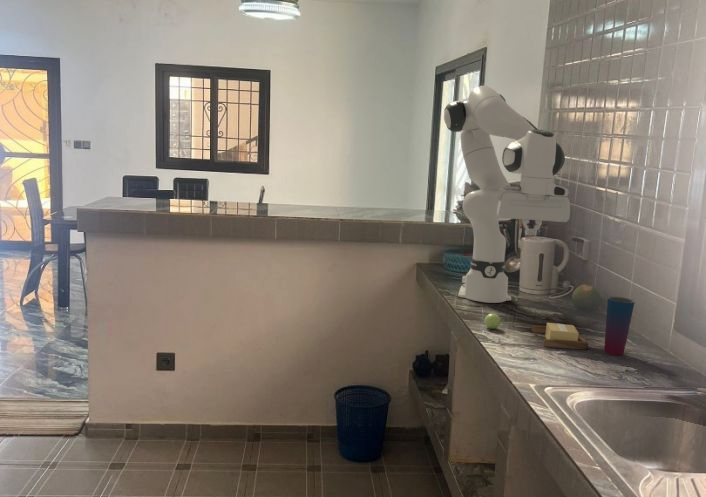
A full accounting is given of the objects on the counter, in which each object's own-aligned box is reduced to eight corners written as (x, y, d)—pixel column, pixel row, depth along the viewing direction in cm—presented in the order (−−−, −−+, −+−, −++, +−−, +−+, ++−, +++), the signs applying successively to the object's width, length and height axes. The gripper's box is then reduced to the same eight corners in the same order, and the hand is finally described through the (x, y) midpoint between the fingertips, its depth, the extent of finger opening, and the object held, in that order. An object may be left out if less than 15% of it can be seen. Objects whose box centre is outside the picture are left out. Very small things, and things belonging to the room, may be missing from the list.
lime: (482, 325, 195) (484, 311, 194) (497, 326, 195) (499, 312, 194) (485, 330, 190) (486, 315, 190) (500, 331, 190) (502, 316, 189)
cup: (629, 357, 173) (637, 303, 170) (603, 354, 174) (610, 301, 172) (624, 350, 180) (631, 297, 177) (598, 347, 181) (605, 295, 178)
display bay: (531, 331, 192) (531, 325, 192) (572, 333, 192) (573, 328, 192) (543, 346, 178) (544, 340, 178) (587, 349, 178) (588, 343, 178)
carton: (545, 337, 188) (546, 322, 187) (571, 339, 187) (573, 325, 186) (549, 345, 180) (550, 330, 180) (576, 348, 179) (578, 332, 178)
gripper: (501, 186, 180) (496, 234, 183) (574, 190, 180) (568, 239, 182) (497, 184, 186) (492, 231, 189) (568, 188, 186) (562, 236, 188)
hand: (530, 235), depth 185 cm, fingers closed
